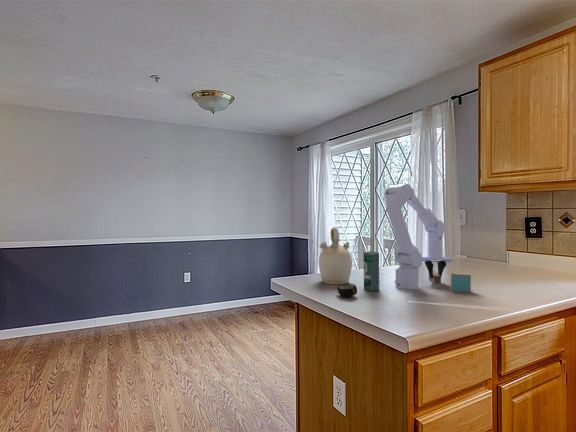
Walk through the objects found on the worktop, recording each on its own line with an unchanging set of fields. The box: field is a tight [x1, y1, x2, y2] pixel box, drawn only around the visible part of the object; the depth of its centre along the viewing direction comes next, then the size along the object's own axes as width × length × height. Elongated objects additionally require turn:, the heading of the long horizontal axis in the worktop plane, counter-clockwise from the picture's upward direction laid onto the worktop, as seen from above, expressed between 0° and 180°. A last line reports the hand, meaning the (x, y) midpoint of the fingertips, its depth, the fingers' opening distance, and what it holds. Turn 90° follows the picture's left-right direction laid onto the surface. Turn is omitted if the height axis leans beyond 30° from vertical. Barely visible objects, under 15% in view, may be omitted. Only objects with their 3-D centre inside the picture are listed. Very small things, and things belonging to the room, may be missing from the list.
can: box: [362, 251, 380, 292], centre depth 142 cm, size 6×6×15 cm
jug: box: [318, 226, 353, 285], centre depth 157 cm, size 15×16×25 cm
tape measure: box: [337, 283, 358, 298], centre depth 130 cm, size 7×7×4 cm
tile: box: [449, 272, 472, 293], centre depth 136 cm, size 7×3×7 cm, turn 72°
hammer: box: [428, 270, 448, 290], centre depth 151 cm, size 19×5×4 cm, turn 168°
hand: (435, 278), depth 151 cm, fingers open, 3 cm apart
